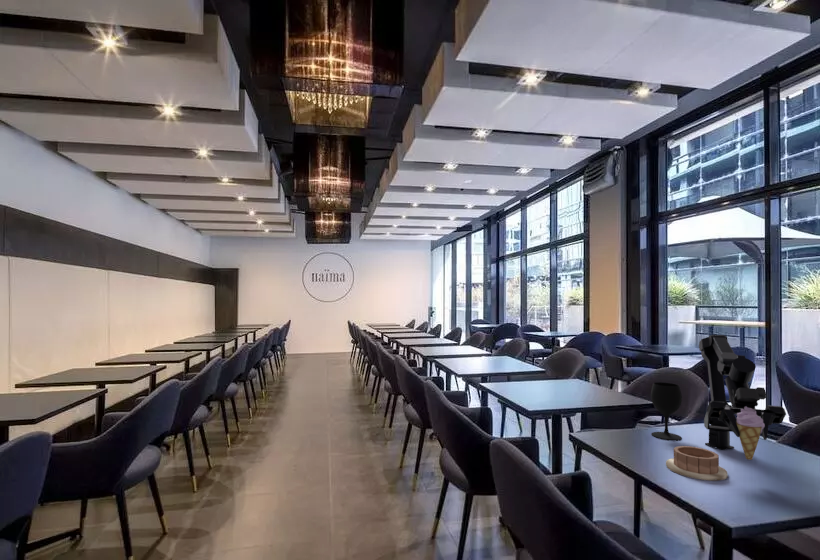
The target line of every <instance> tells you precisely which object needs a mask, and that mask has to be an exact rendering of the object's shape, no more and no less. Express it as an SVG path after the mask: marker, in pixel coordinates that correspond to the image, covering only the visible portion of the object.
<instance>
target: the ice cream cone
mask: <svg viewBox="0 0 820 560" xmlns="http://www.w3.org/2000/svg"><path fill="white" fill-rule="evenodd" d="M736 416H737V417H736V419H737V422H736V424H737V427H738V430H739V434H740V436H739V437H738V439H739V441H740V444H741V446H742V451H743V454H744V456H745V459H746V460H748V461H751V460H753V457H754V455H755V453H756V449H757V446H758V443H759V440H760V437H761V434H762V429H763V428H764V427H765V424H764V423H763V419H762V418H760V417H759V416H757V414H756V411H755V410H753V409H752V408H748V407H747V406H745V407H744V409H741V412H740V413H737V414H736Z"/></svg>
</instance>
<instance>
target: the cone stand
mask: <svg viewBox="0 0 820 560" xmlns="http://www.w3.org/2000/svg"><path fill="white" fill-rule="evenodd" d="M719 458H720V457H719V454H718V453H716V452H715V451H712V450H709V449H706V448H702V447H698V446H697V447H696V446H688V445H687V446H686V445H679V446H675V447H674V448H673V458H669V459H667V460H666V461H665V466H667V467H666V468H667V469H668V470H669V469H670V471H671V472H673V473H675V474H678V475H681V476H683V477H686V478H691V479H695V480H702V481H711V482H716V481H717V482H718V481H724V480H726V479H728V476H729V475H728V474H729V473H728V471H727V470H726V469H725V468H723V467H722V466H720V465H719V464H720V463H719V461H720V459H719Z"/></svg>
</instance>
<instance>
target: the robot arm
mask: <svg viewBox="0 0 820 560" xmlns="http://www.w3.org/2000/svg"><path fill="white" fill-rule="evenodd" d="M698 349H699V352H700V354H701V357H702V359H703V360H704V361H705V362H706V363H707V372H708V383H709V390H710V399H711V400H710V401H709V402H708V406H707V409H706V413H705V416H704V419H703V426H704V428H706V430H708V442H705V443H704V444H705V445H706V446H708V447H712V448H716V449H717V450H718V449H719V450H722V451H725V450H730V449H731V450H732V449H735V446H733V445H731V443H730V442H731V441H730V440H731V437H730V436H731V435H730V433H733V434H734V435H735V436H736V437H737V438H739V436H740V434H739V430H738V427H737V424H736V422H737V417H736V415H737V413H740V412H741V409H744V407H745V406H747V407H748V408H752V409H753V410H755V411H756V414H757V416H758V417H760V418H762V419H763V423H764V424H765V427H764V428H763V429H762V433H761V436H762V438H763V440H764V441H766V440H767V439H768V433H769V427H770V426H771V425H773V424H776V425H779V424H782V422H783V421H784V419H785V417H786V415H787V413H786V409H785V408H784V407H782V406H779V405H769V404H768V405H766V406H765V409H761V408H759V409H758V408H756V407H758V405H759V403H758V401H760V400H765V399H766V398H767V393H766V389H765V387H760V386H759V387H758V386H757V387H756V388H750V386H749V383H750V382H751V381H752V378H753V376H754V374H755V371H756V368H757V366H756V363H754V362H753V361H752V360H751V359H749V358H746V356H745V355H742V354H740V355H739V354H736V353H735V351H734V349H732V346H731V345H730V343H729V340H728V337H727V335H724V334H711V335H709V336H706V337H703V338H701V340H700V341H699V343H698ZM724 376H726V377H725V379H724ZM725 384H726V385H725ZM725 386H726V387H725ZM726 388H727V389H726ZM726 390H727V392H728V393H727V394H728V397H729V399H728V400H729V401H727V397H726ZM728 402H730V404H729V403H728Z"/></svg>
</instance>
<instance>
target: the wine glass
mask: <svg viewBox="0 0 820 560" xmlns="http://www.w3.org/2000/svg"><path fill="white" fill-rule="evenodd" d="M681 390H682V389H681V387H680V385H679V384H677V383H671V382H665V381H664V382H662V381H661V382H660V381H659V382H658V381H656V382H653V383H652V386H651V391H650V399H651V402H652V405H653V407H654V408H655V409H656V410H657V411H658V412H659V413H661V414H662V415H663V416H664V417H663V418H664V431H652V432H651V433H650V434H651V436H652V437H653V438H656V439H659V440H663V441H669V440H676V441H675V442H679V441H682V439H683V437H682V436H681V435H678V434H677V433H673V432H669V426H668V425H669V417H670V416H671V415H672V414H675V412H677V411H678V410H679V409H680V407H681V405H682V401H683V397H682V396H683V395H682V391H681ZM678 440H679V441H678Z"/></svg>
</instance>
